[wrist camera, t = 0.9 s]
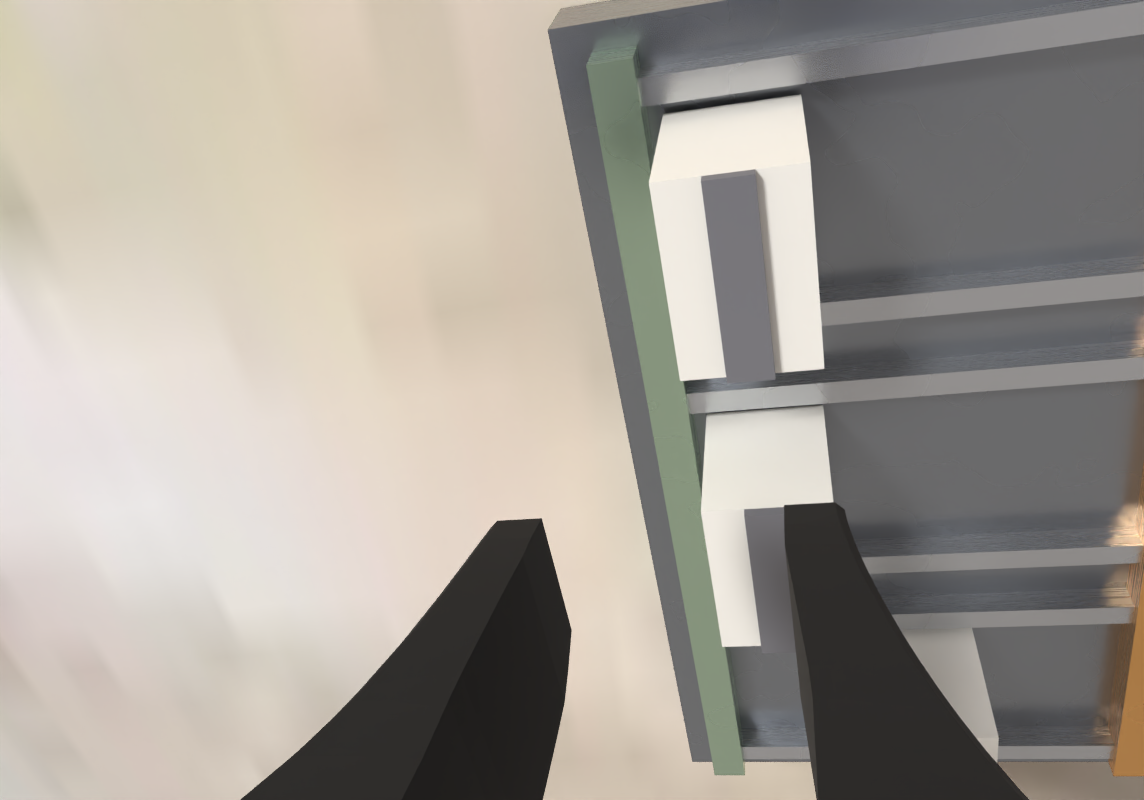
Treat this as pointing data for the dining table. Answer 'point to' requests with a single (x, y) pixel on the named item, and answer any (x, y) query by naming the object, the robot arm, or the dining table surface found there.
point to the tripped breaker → (958, 677)
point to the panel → (908, 335)
